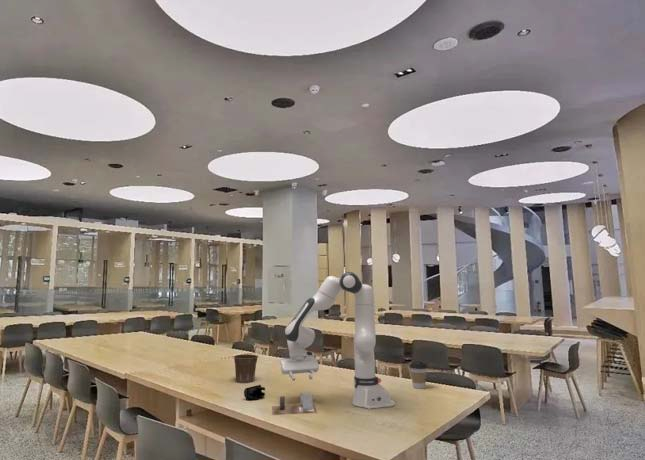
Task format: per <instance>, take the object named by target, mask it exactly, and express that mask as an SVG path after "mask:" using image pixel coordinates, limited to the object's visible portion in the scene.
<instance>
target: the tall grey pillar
mask: <svg viewBox="0 0 645 460" xmlns="http://www.w3.org/2000/svg"><path fill="white" fill-rule="evenodd" d="M313 397H314V396H313V393H312V392H311V391H304V392H300V398H299V400H300V402H299V405H300V408H301V409H302V410H303V411H307V410H313V405H314V403H313Z"/></svg>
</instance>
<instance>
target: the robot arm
mask: <svg viewBox="0 0 645 460" xmlns="http://www.w3.org/2000/svg"><path fill="white" fill-rule="evenodd" d="M342 291H345V292H349V293H352V294H353V296H354V335H353V353H354V354H353V355H354V356H353V357H354V376H353V387H354V392H353V397H352V398H353V399H352V405H354V406H356V407H360V408H365V409H370V410H372V409H377V408H378V409H379V408H389V407H395V401H394V400H393V399H391V397H390V393H389V391H388V390H387V389H386V388H385V387H384V386H383V385H381V384H380V383H382V379H381V378H379V377H378V376H377V375H376V360H375V350H374V349H375V346H376V342H377V339H376V337H377V336H376V323H375V293H374V290H373V287H372V286H371V285H369V284H366V283H362V281H361V280H360V277H359V276H358V274H357V273H355V272H352V271H347V272H344V273H343V274H342V275H341V276H340V277H336V276H334V275H329V276H327V277H326V278H325V279H324V281H323V282H322V284H321V285H320V287H319V289H318V290H317V292H316V293H315V294H314V295H313V296H312V297H309V298H308V299H307V300H306V301H305V302H304V303H303V305H302V306H301V307H300V309H299V311H298V312H297V313H296V314H295V316H294V317H293V319H292V320H291V321H290V322H289V323H288V324H287V325H286V326H285V329H284V336H285V339H286V341H287V342H286V343H287V348H288V351H289V352H288V354H289V357H281V358H280V360H279V363H280V365H281V374H282V375H288V376H289V378H290V379H291V381H293V382H295V381H296V374H308V373H309V375H308V379H309V380H313V374H314V373H317V372H318V371H319V368H320V366H319V362H318V359H317V358H316V357H315V353H314V352H313V351H308V350H305V349H307V348H309V347H310V346H311V345H313V344H314V342H315V340H316V332H315V330H314V329H312V328H310V327H308V326H304V325H303V323H304V322H305V321H306V319H307V317H308V316H309V315H310V314H311V313H313V312H316V311H326V310H328V309H330V308H332V307H333V305H334V303H335V301H336V299H337V297H338V295H339V294H340V293H341V292H342ZM293 374H295V375H293Z"/></svg>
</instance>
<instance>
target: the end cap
mask: <svg viewBox="0 0 645 460" xmlns="http://www.w3.org/2000/svg"><path fill="white" fill-rule="evenodd" d="M264 391H266V387H264V386H262V385H261V384H258V385H254V386H250V387H247V388H245V389H244V391H243V396H244V398H245V399H246V401H249V402H255V401H260V400H264V399H265V396H266V393H265V392H264Z"/></svg>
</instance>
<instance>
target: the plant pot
mask: <svg viewBox="0 0 645 460" xmlns="http://www.w3.org/2000/svg"><path fill="white" fill-rule="evenodd" d="M258 358H259V355H257V354H249V353H248V354H238V355H234V356H233V359H234V366H235V368H234V369H235V381H236V382H237V383H239V382H240V384H247V383H252V382H254V381H255V376H256V369H257V368H256V366H257V362H258Z"/></svg>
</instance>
